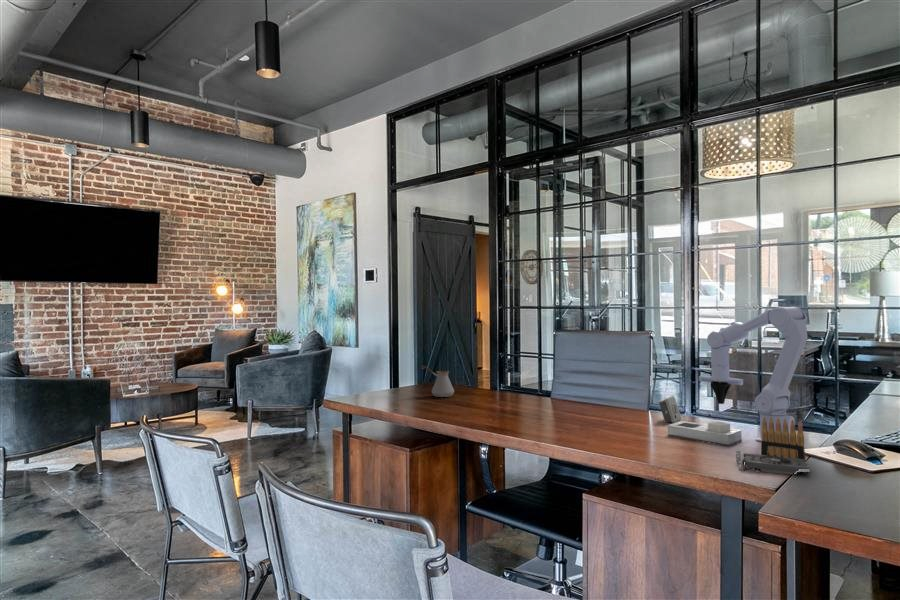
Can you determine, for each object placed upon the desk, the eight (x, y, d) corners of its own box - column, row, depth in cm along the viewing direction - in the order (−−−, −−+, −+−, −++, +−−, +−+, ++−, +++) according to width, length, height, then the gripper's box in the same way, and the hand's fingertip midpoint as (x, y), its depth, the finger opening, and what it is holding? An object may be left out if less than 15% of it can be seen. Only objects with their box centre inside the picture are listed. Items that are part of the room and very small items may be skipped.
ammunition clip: (760, 458, 156) (759, 416, 157) (762, 456, 158) (761, 415, 158) (804, 464, 150) (803, 421, 150) (805, 463, 151) (804, 420, 151)
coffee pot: (459, 396, 272) (458, 367, 272) (442, 399, 264) (441, 369, 264) (431, 392, 288) (430, 364, 288) (414, 395, 280) (414, 366, 280)
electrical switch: (674, 423, 203) (671, 399, 204) (660, 423, 206) (657, 399, 207) (681, 419, 211) (678, 395, 211) (668, 419, 214) (665, 395, 214)
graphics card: (737, 461, 144) (735, 449, 154) (737, 475, 144) (736, 462, 155) (813, 469, 136) (805, 455, 147) (813, 484, 136) (805, 469, 147)
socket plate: (741, 440, 176) (741, 430, 176) (728, 446, 170) (728, 435, 170) (682, 430, 192) (681, 420, 192) (667, 435, 185) (667, 425, 185)
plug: (730, 439, 176) (730, 423, 176) (720, 441, 174) (720, 425, 174) (718, 436, 180) (717, 421, 180) (708, 438, 178) (707, 423, 178)
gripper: (746, 365, 189) (747, 404, 189) (704, 362, 200) (705, 399, 200) (738, 367, 185) (739, 407, 184) (695, 364, 196) (696, 402, 196)
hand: (721, 403), depth 192 cm, fingers closed
